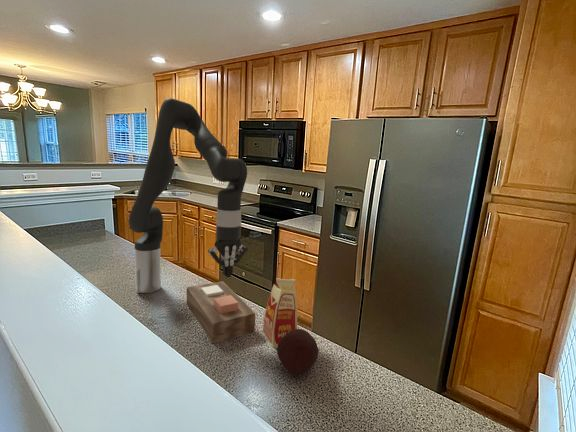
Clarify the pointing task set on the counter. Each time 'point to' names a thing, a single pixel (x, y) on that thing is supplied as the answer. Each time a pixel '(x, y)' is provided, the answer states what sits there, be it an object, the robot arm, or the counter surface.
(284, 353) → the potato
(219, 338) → the block
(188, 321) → the counter surface
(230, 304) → the salmon pink block
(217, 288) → the cream square block
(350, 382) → the counter surface
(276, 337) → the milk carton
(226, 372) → the counter surface
